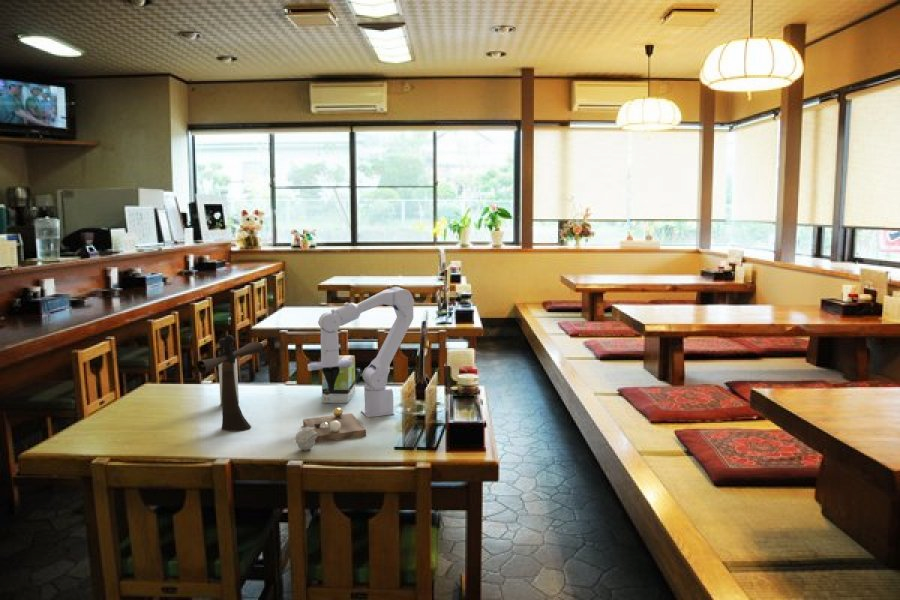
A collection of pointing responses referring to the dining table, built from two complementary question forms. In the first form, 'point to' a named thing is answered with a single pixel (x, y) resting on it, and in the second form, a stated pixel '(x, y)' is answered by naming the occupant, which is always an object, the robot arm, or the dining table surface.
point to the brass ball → (337, 412)
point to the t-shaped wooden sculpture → (230, 381)
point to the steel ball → (324, 425)
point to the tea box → (340, 384)
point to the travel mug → (234, 376)
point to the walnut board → (347, 430)
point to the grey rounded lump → (306, 438)
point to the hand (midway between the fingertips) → (331, 389)
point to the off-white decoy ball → (335, 426)
